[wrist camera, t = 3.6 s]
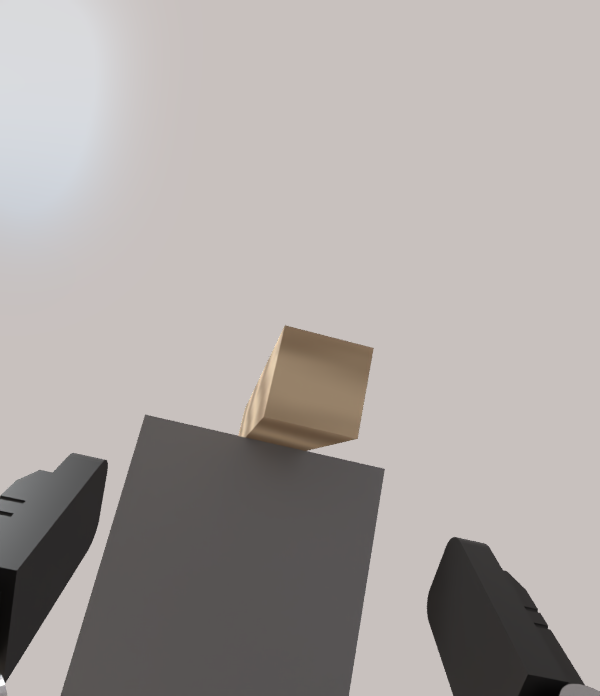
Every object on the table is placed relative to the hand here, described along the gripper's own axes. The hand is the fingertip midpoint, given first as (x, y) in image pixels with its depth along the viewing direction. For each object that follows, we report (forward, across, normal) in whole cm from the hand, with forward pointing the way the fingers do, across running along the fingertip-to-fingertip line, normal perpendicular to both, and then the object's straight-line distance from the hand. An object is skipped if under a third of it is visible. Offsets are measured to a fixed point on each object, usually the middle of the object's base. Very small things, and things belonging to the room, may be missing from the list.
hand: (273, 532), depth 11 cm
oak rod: (+14, 0, +5) cm, 14 cm away
